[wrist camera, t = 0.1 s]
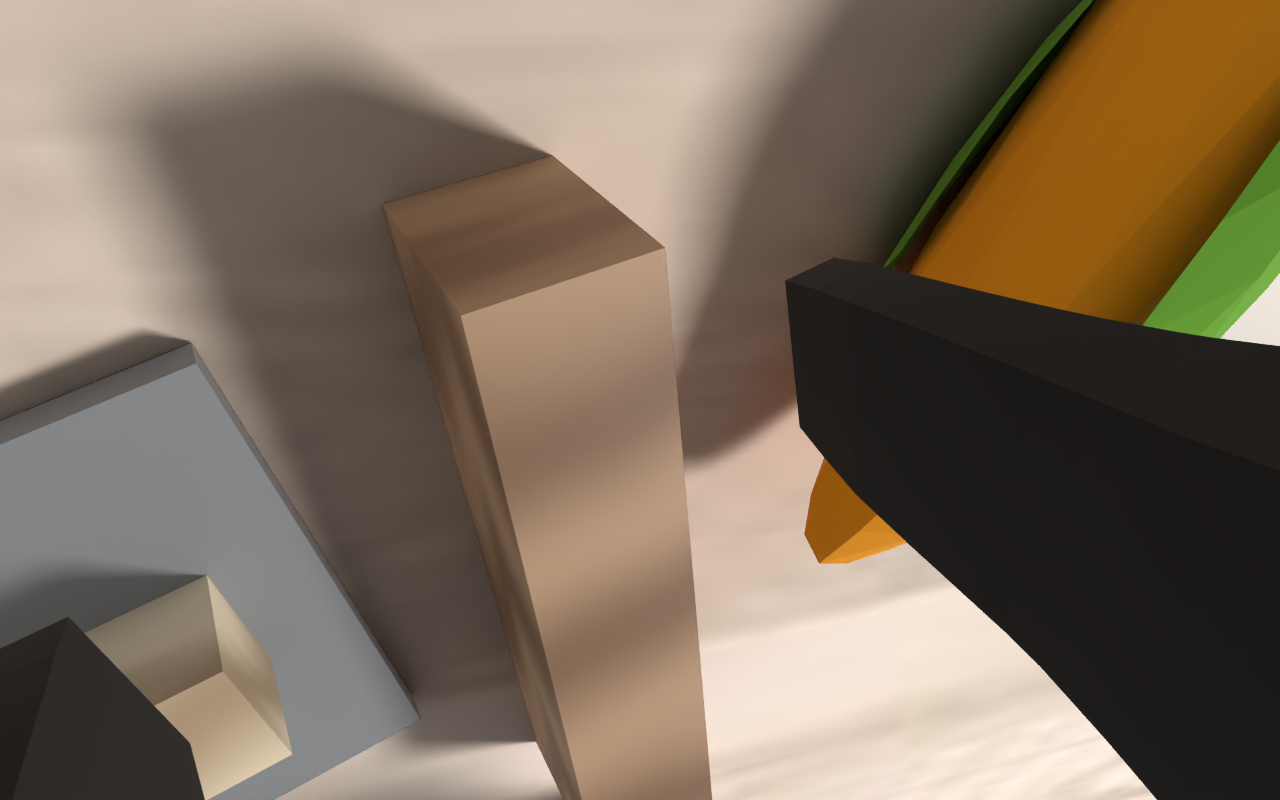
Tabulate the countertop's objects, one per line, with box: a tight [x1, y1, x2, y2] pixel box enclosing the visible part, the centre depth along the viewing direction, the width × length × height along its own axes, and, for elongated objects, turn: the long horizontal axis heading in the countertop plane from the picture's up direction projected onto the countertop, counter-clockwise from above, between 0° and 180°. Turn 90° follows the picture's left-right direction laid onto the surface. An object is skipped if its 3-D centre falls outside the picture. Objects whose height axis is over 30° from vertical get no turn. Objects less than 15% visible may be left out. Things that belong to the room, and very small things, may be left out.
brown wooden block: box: [382, 156, 712, 800], centre depth 22 cm, size 18×4×5 cm, turn 5°
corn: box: [805, 0, 1280, 564], centre depth 22 cm, size 7×8×20 cm
